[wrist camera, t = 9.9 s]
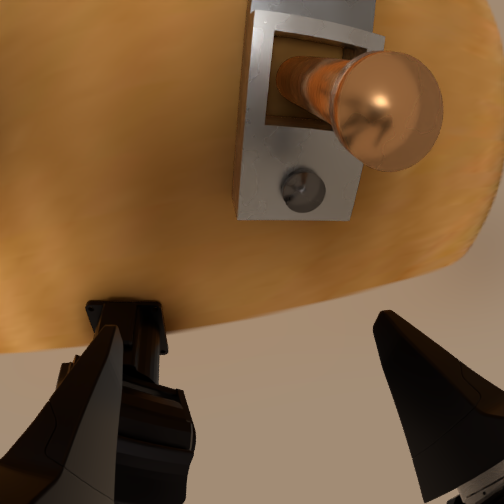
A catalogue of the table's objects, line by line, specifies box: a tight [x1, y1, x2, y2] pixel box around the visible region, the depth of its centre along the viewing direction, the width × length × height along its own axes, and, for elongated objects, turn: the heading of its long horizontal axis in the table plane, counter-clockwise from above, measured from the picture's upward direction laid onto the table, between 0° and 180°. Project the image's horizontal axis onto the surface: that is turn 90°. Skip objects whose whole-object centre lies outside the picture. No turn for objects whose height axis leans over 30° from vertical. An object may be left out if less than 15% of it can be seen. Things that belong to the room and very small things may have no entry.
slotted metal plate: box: [232, 0, 385, 221], centre depth 15 cm, size 17×7×4 cm, turn 175°
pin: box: [276, 50, 443, 172], centre depth 12 cm, size 4×4×10 cm
